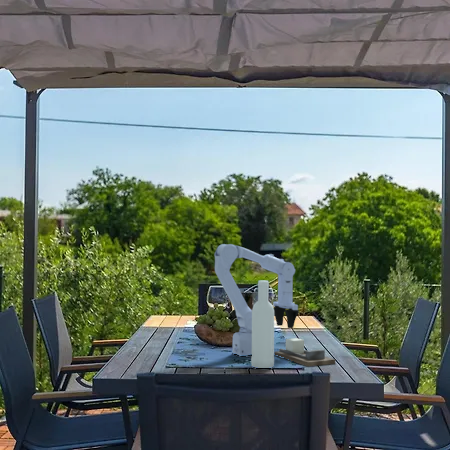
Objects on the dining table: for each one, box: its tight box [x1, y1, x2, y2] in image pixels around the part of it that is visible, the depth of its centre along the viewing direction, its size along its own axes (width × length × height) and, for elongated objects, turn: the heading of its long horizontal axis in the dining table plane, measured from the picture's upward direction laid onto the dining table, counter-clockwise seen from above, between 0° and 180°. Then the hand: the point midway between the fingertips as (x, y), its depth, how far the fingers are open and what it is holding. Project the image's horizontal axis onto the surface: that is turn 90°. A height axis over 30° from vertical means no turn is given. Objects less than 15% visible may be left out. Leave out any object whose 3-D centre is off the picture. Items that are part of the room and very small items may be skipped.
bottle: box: [250, 279, 275, 368], centre depth 206 cm, size 8×8×30 cm
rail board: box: [274, 348, 336, 367], centre depth 220 cm, size 12×22×4 cm, turn 28°
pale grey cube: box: [285, 337, 305, 354], centre depth 225 cm, size 5×5×5 cm
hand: (285, 326), depth 233 cm, fingers open, 7 cm apart
